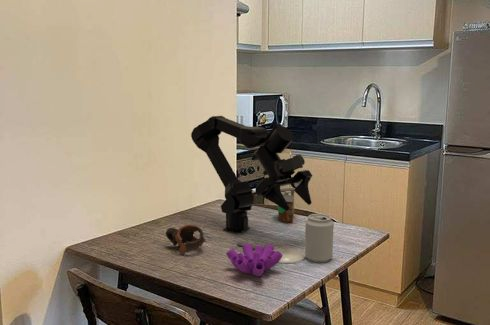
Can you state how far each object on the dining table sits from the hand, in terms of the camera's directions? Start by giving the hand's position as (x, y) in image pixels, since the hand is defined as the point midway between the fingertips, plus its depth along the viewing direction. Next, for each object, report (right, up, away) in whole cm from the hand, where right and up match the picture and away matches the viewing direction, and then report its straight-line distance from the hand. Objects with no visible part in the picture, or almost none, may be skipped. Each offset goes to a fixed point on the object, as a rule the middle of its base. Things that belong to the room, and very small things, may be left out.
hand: (299, 207), depth 138 cm
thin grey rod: (-13, -13, +4) cm, 18 cm away
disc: (-4, -14, -2) cm, 14 cm away
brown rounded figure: (-33, -13, +4) cm, 35 cm away
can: (+5, -14, -3) cm, 15 cm away
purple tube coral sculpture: (-13, -16, -12) cm, 23 cm away
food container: (-2, -8, +33) cm, 34 cm away
